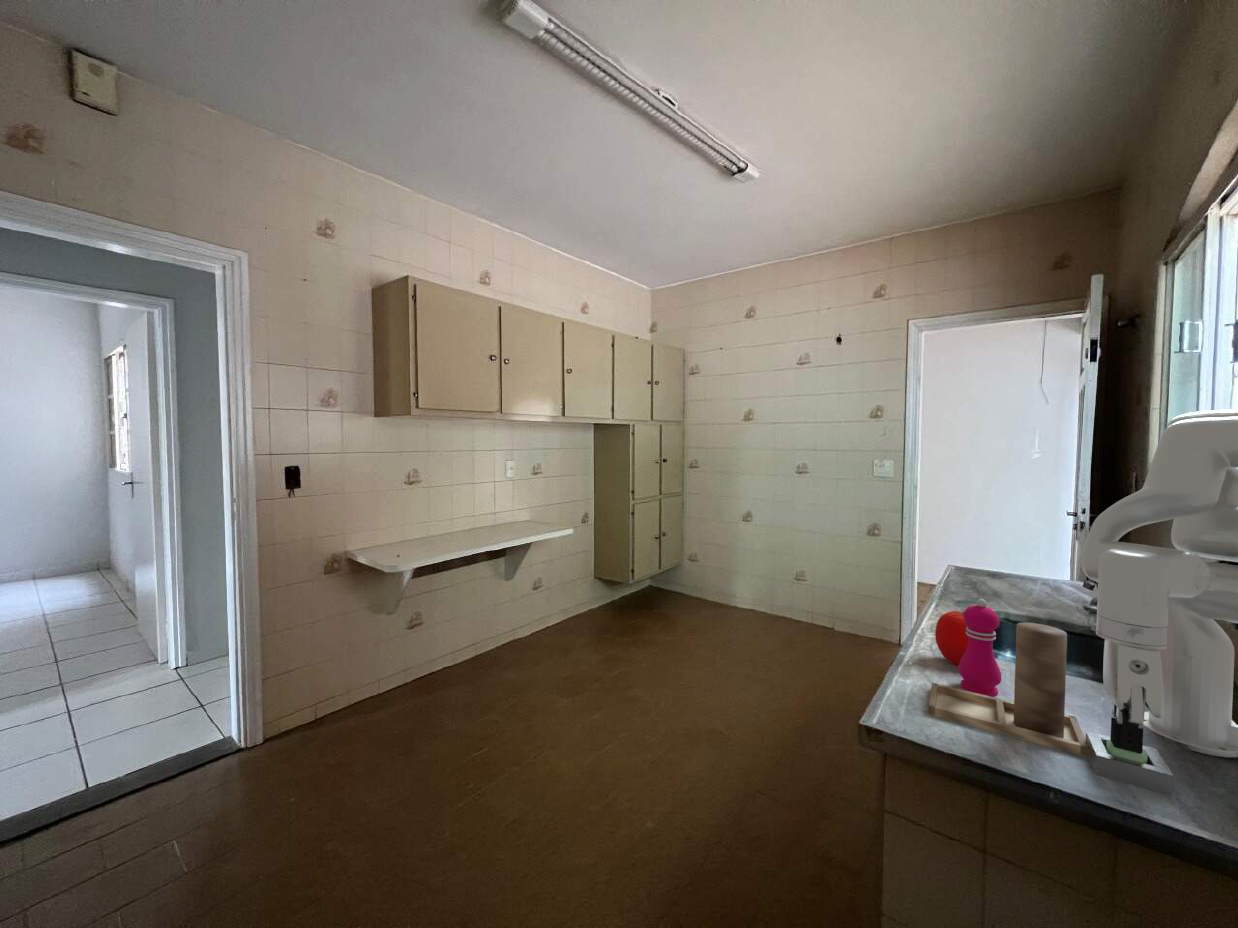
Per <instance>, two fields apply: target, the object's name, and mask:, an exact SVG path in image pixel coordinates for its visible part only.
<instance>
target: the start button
mask: <svg viewBox="0 0 1238 928" xmlns="http://www.w3.org/2000/svg"><path fill="white" fill-rule="evenodd" d="M1106 751H1107V753H1108V754H1110V755H1114V756H1118V757H1122V758H1125V759H1129V760H1133V761H1137V762H1141V763H1144V764H1147V752H1146V751H1145V750H1143V751H1142V753H1141V754H1139V753H1135V752H1131V751H1127V750H1123V749H1119V748H1116V747H1114V746H1113V744H1112V742H1111V740H1107V744H1106Z"/></svg>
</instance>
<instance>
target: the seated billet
mask: <svg viewBox="0 0 1238 928" xmlns="http://www.w3.org/2000/svg"><path fill="white" fill-rule="evenodd" d="M1015 632H1016V633H1015V635H1016V636H1015V668H1014V691H1013V692H1014V693H1013V694H1014V695H1013V702H1014V724H1015V726H1017V727H1021V728H1024V729H1028V730H1032V731H1036V732H1040V733H1044V734H1047V735H1051V736H1055V737H1059V738H1063V737H1064V714H1065V713H1066V712H1065V708H1066V707H1065V705H1066V681H1067V680H1066V678H1067V677H1066V676H1067V654H1068V652H1067V651H1068V649H1067V648H1068V634H1067V632H1066V631H1064V630H1063V629H1060V628H1058V627H1055V626H1050V625H1047V624H1042V623H1034V622H1018V623H1016V630H1015Z"/></svg>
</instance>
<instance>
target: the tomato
mask: <svg viewBox="0 0 1238 928" xmlns="http://www.w3.org/2000/svg"><path fill="white" fill-rule="evenodd" d="M963 615H964V611H959V610H952V611H948V612H945V613H944V614H942V615H941V616H940V617H939V618H938V620H937V622H936V626H935V632H934V633H935V635H934V637H935V643H936V645H937V648H938V650H939V652H940V654H941V655H942V656H943V658H945V660H947V662H948V663H951V664H952V665H953V666H956V667H959V663H960V660H961V659H962V657H963V655H964V654H965V652H966V650H967V647H968V641H969V640H968V635H967V634H966V631H967V630H966V627H968V625H967V624H966V623H965V621H964V618H963Z"/></svg>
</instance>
